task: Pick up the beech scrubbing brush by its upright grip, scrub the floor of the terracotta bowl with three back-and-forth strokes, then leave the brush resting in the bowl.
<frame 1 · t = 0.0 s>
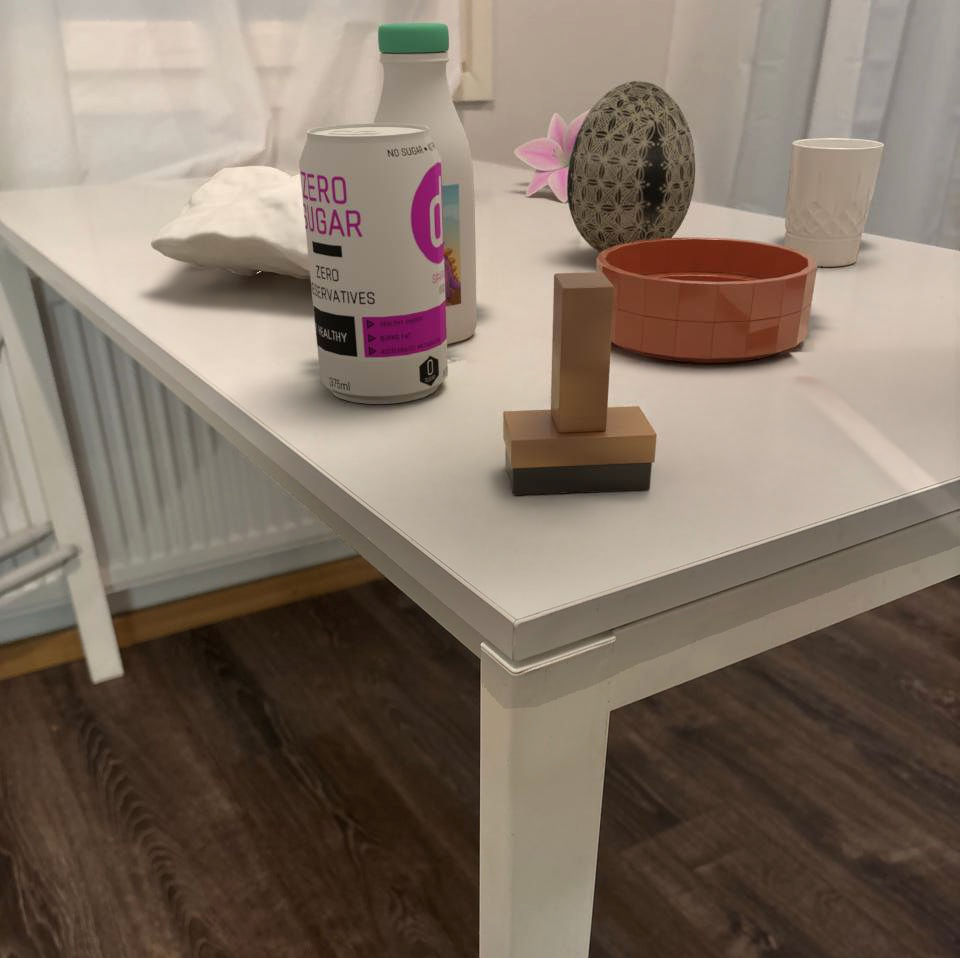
supplement can: (385, 389, 66), on the table
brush: (575, 477, 53), on the table
milk bottle: (425, 337, 76), on the table
decorative egg: (625, 260, 98), on the table
white cup: (819, 261, 96), on the table
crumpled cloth: (284, 278, 93), on the table
bowl: (697, 336, 75), on the table
lily: (559, 197, 130), on the table
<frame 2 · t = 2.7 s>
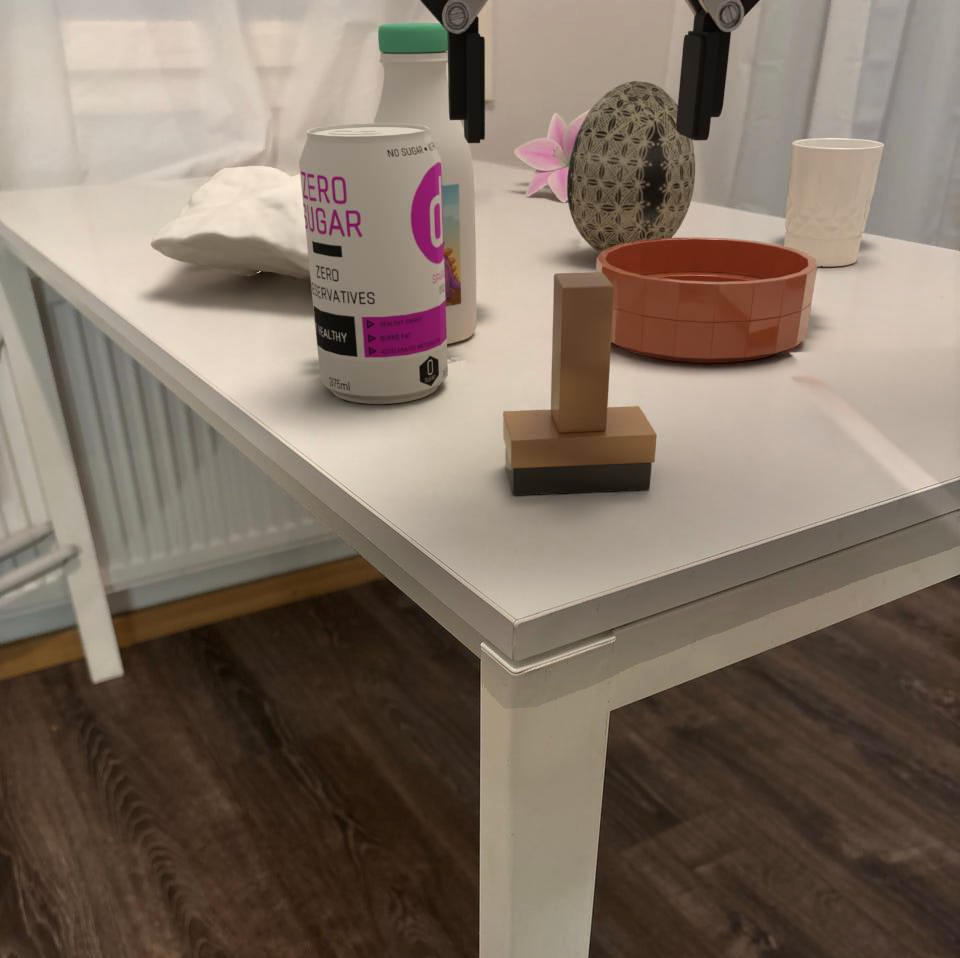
hand: (583, 138, 44), 16 cm above the table, tool pointing down, fingers open, 9 cm apart
nothing on the table moved.
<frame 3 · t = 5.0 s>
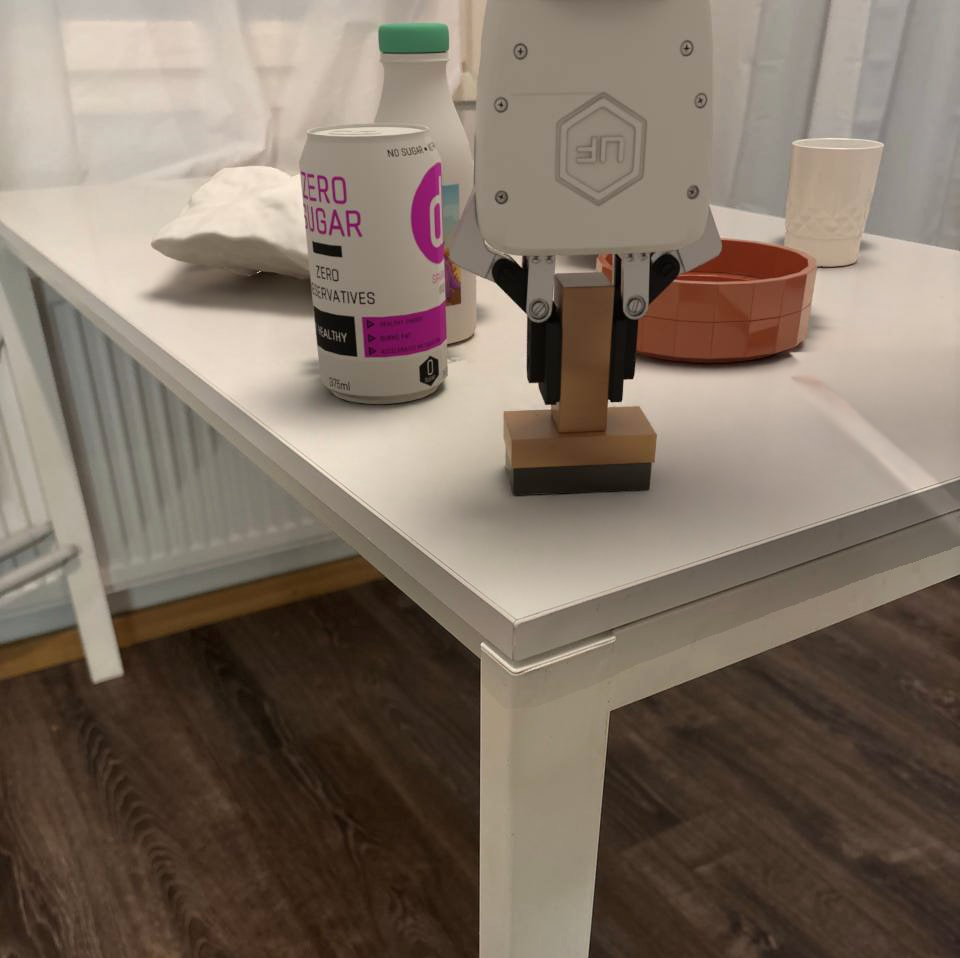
hand: (579, 391, 51), 5 cm above the table, tool pointing down, fingers closed on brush, 2 cm apart
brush: (575, 477, 53), on the table, touching gripper
everything else where it was.
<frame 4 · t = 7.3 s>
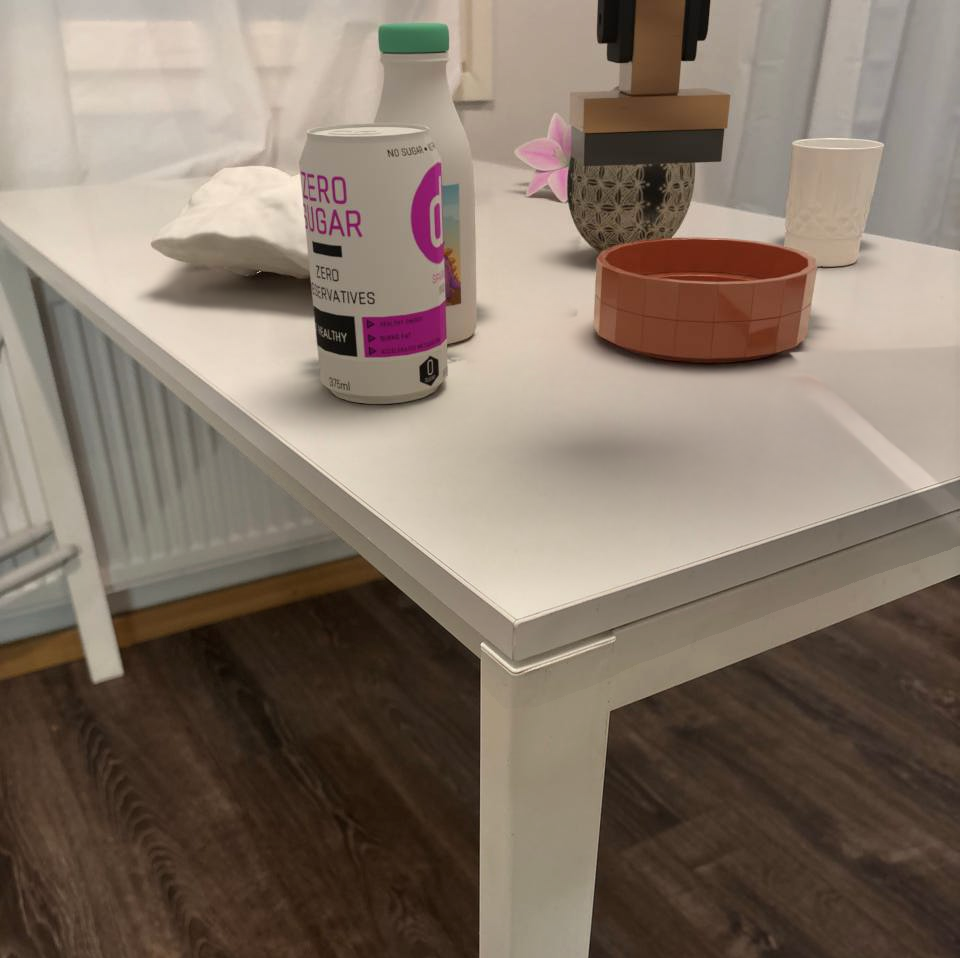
hand: (650, 57, 50), 19 cm above the table, tool pointing down, fingers closed on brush, 2 cm apart
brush: (643, 159, 52), point 14 cm above the table, touching gripper
everything else where it was.
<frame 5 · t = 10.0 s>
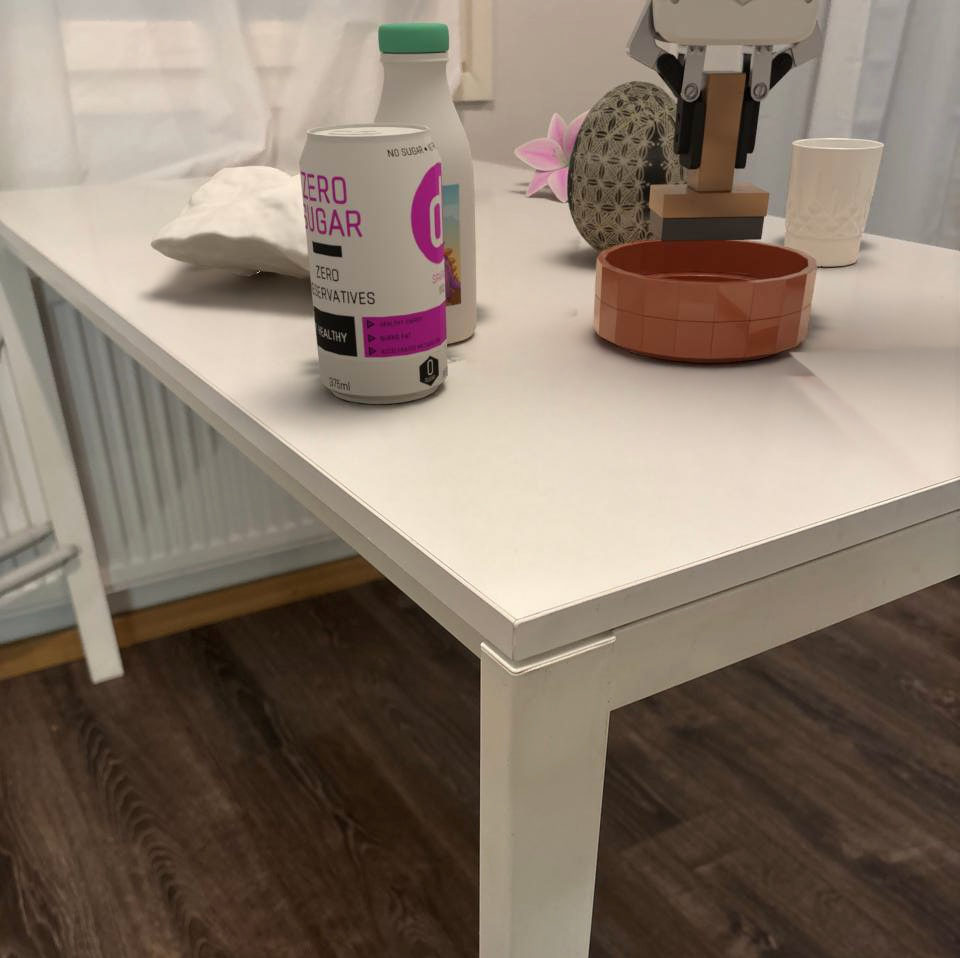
hand: (711, 164, 69), 12 cm above the table, tool pointing down, fingers closed on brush, 2 cm apart
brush: (703, 235, 71), point 7 cm above the table, touching gripper
everything else where it was.
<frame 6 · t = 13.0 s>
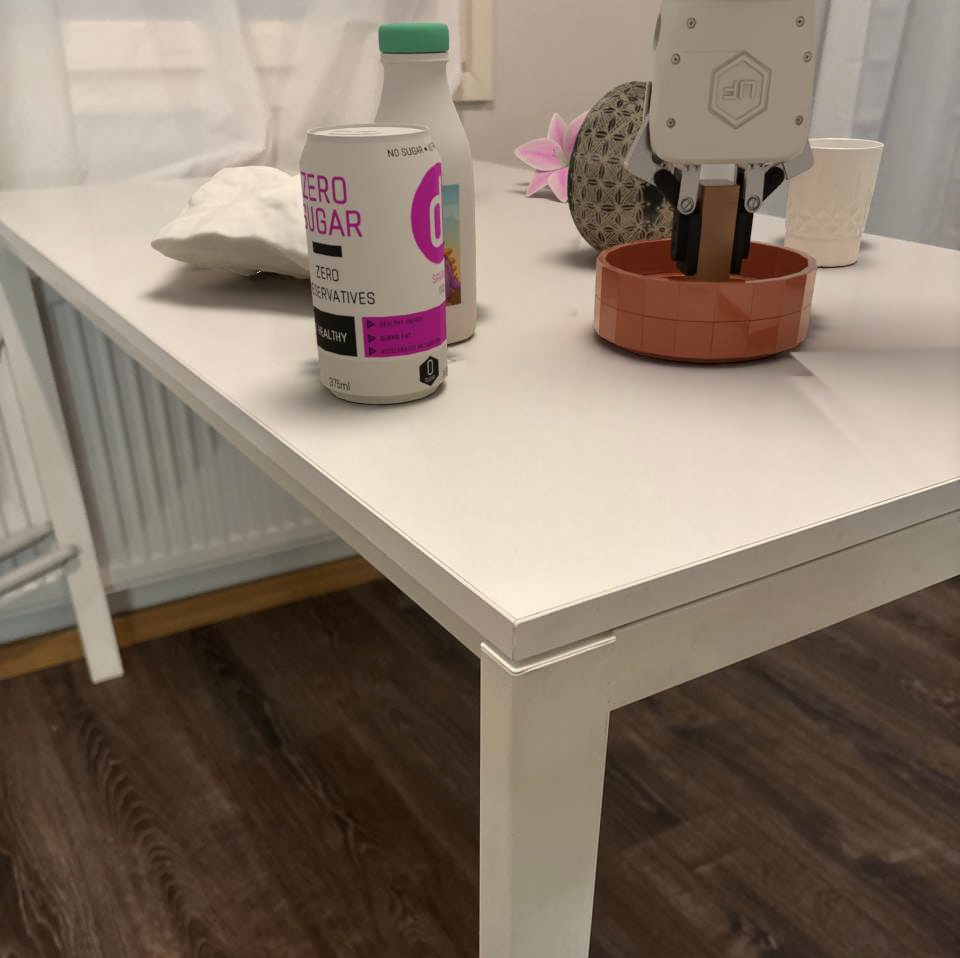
hand: (707, 268, 71), 5 cm above the table, tool pointing down, fingers closed on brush, 2 cm apart
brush: (700, 331, 74), point 1 cm above the table, touching gripper
everything else where it was.
when the fingers open (5 cm above the table, at t = 14.9 s): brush stays where it is, resting on bowl.
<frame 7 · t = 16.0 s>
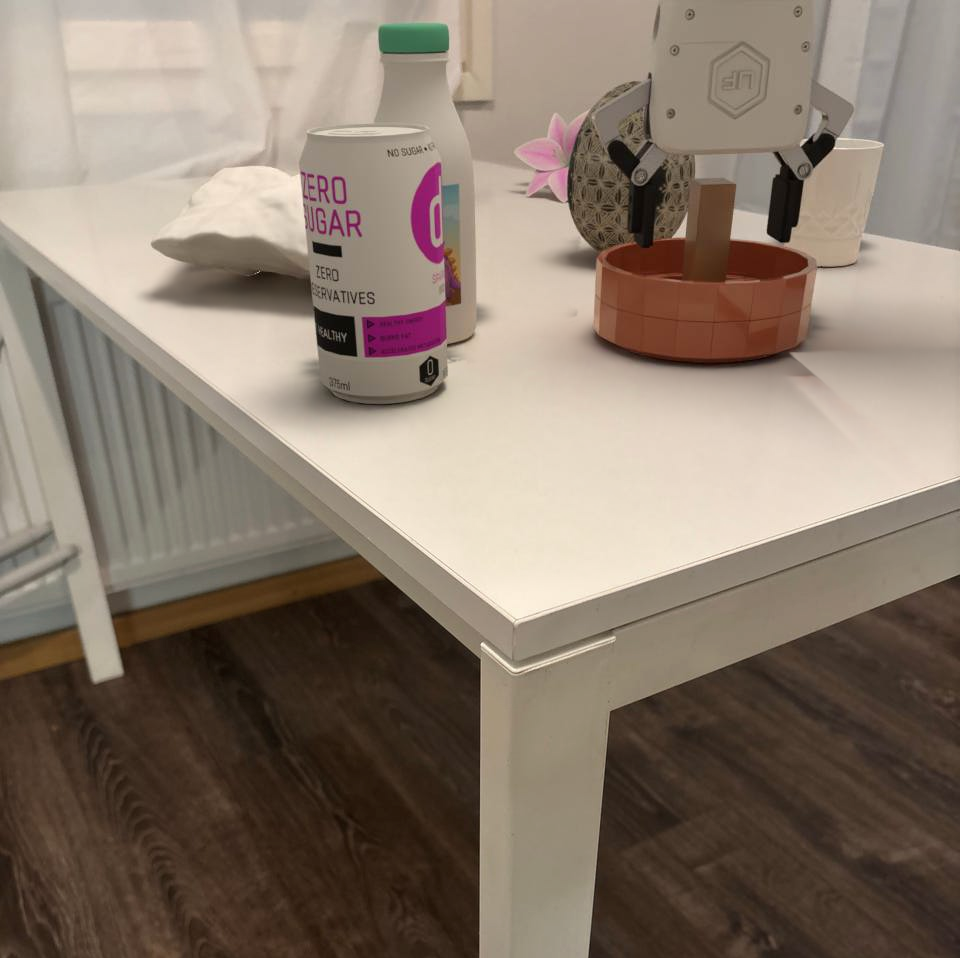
hand: (710, 241, 71), 7 cm above the table, tool pointing down, fingers open, 9 cm apart
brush: (698, 329, 74), point 1 cm above the table, touching bowl
everything else where it was.
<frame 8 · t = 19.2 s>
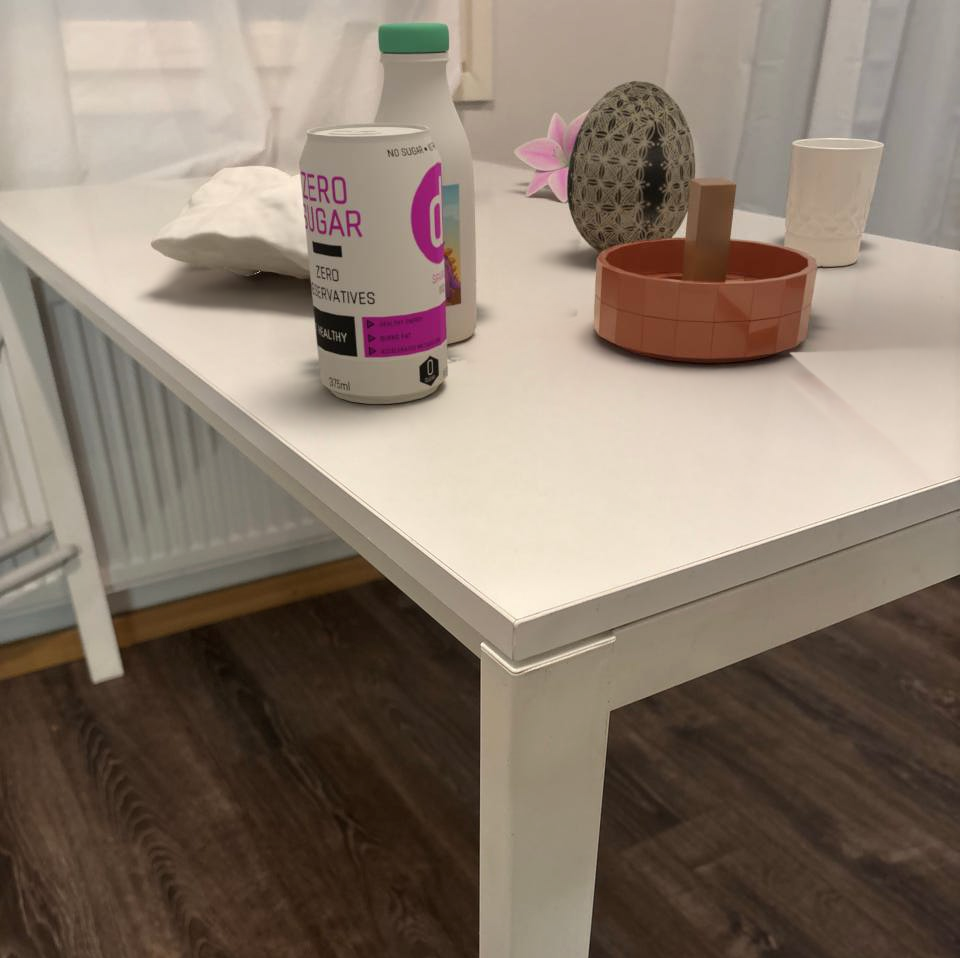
nothing on the table moved.
at the end: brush 0.4 cm off-centre in the bowl, point 0.6 cm above the bowl's base; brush tilted 0°; the gripper is holding nothing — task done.
